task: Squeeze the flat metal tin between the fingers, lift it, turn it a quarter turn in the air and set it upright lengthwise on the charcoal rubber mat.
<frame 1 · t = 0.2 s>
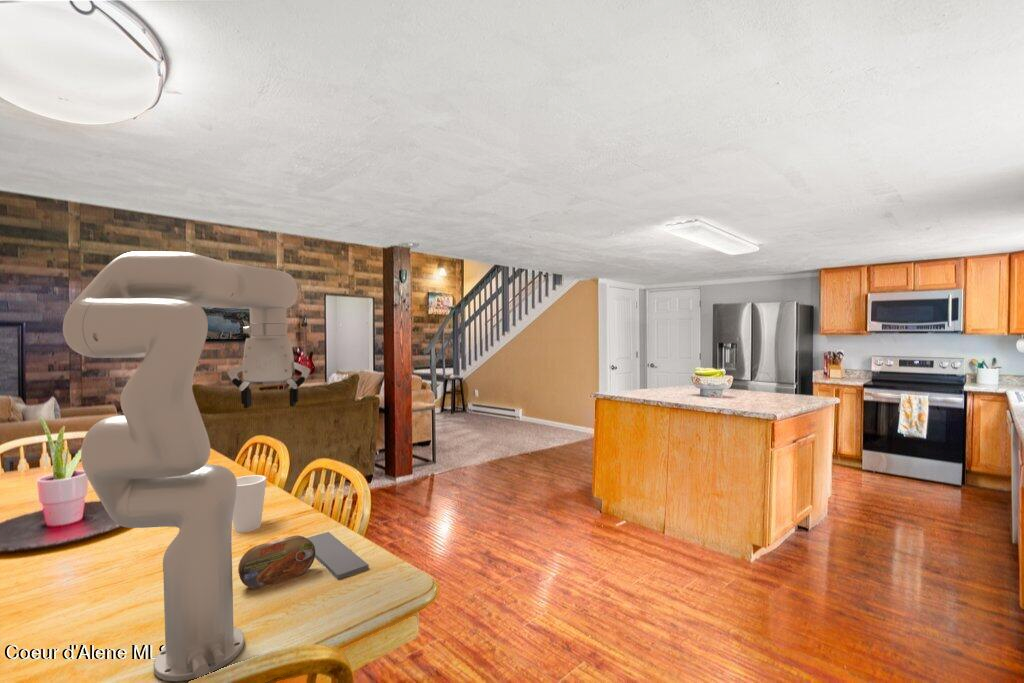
hand: (270, 406, 112), 36 cm above the table, tool pointing down, fingers open, 9 cm apart
tin: (278, 580, 106), on the table
foam cup: (247, 528, 133), on the table
charcoal mat: (332, 555, 117), on the table
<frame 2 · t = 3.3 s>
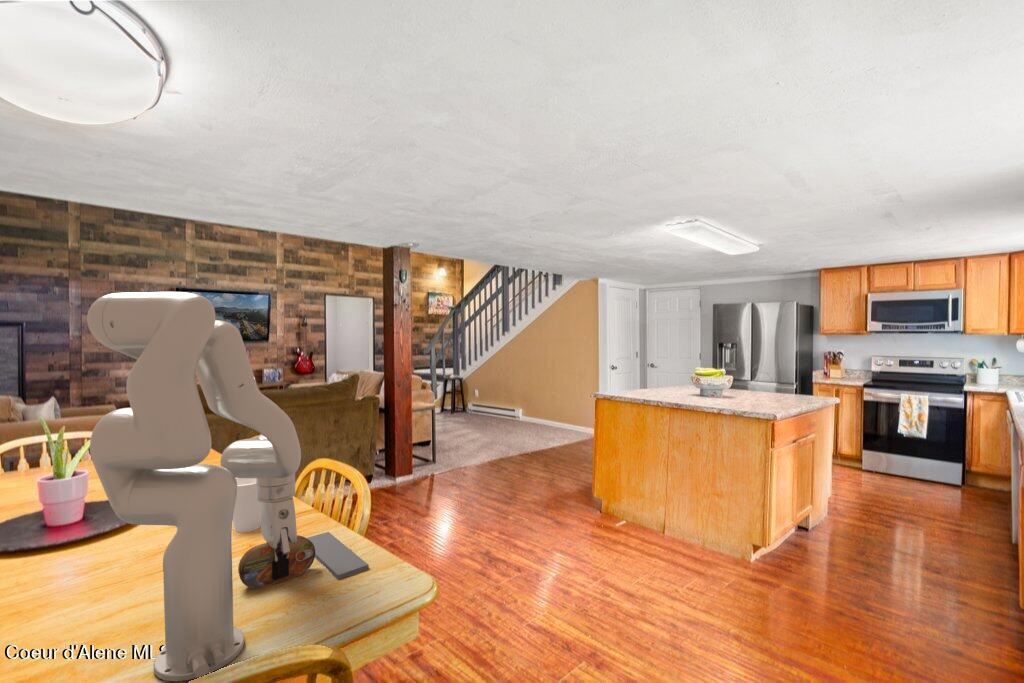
hand: (278, 573, 106), 1 cm above the table, tool pointing down, fingers open, 3 cm apart
tin: (278, 580, 106), on the table, touching gripper
everything else where it was.
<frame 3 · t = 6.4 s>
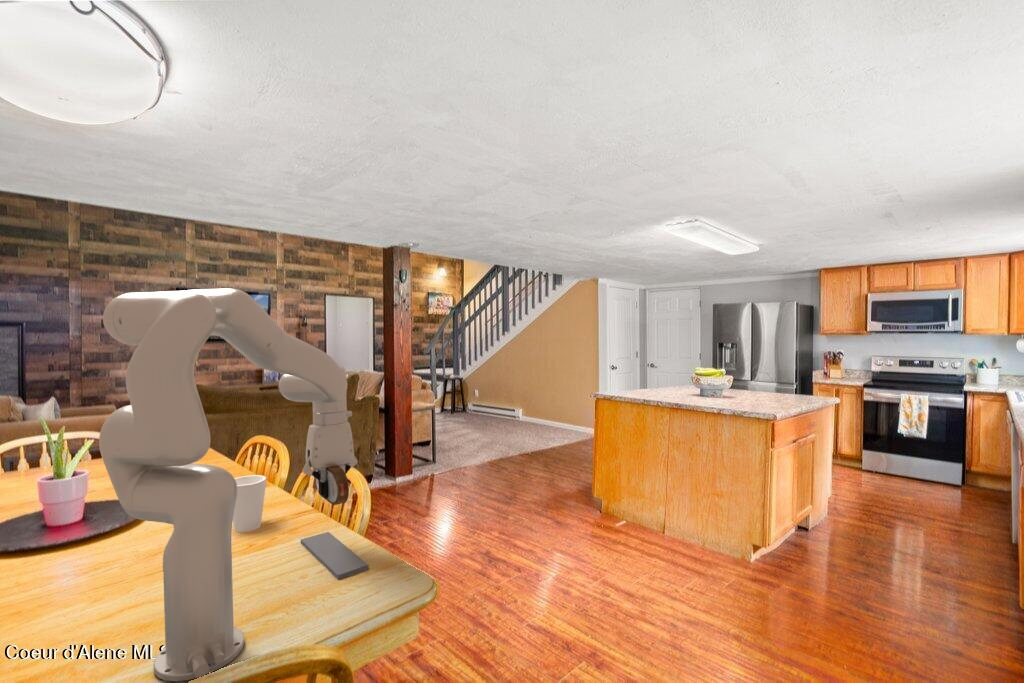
hand: (331, 494, 116), 15 cm above the table, tool pointing down, fingers closed on tin, 2 cm apart
tin: (330, 500, 116), point 13 cm above the table, touching gripper
everything else where it was.
when the fingers open (3 cm above the table, at t = 9.0 s): tin stays where it is, resting on charcoal mat.
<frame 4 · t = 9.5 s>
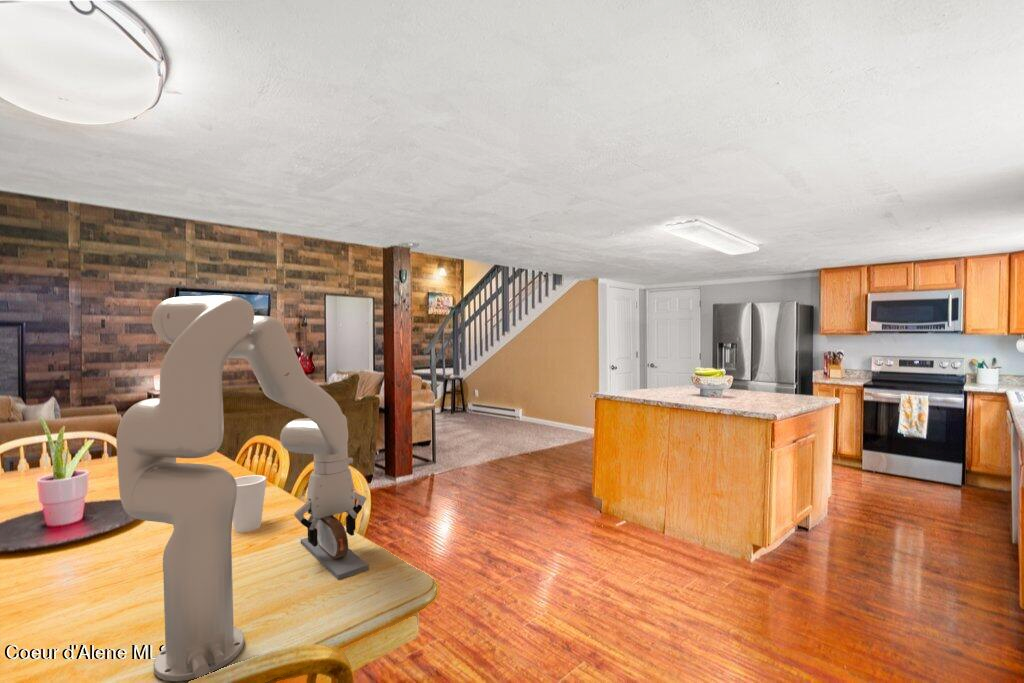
hand: (332, 538, 117), 4 cm above the table, tool pointing down, fingers open, 8 cm apart
tin: (330, 552, 116), point 1 cm above the table, touching charcoal mat
everything else where it was.
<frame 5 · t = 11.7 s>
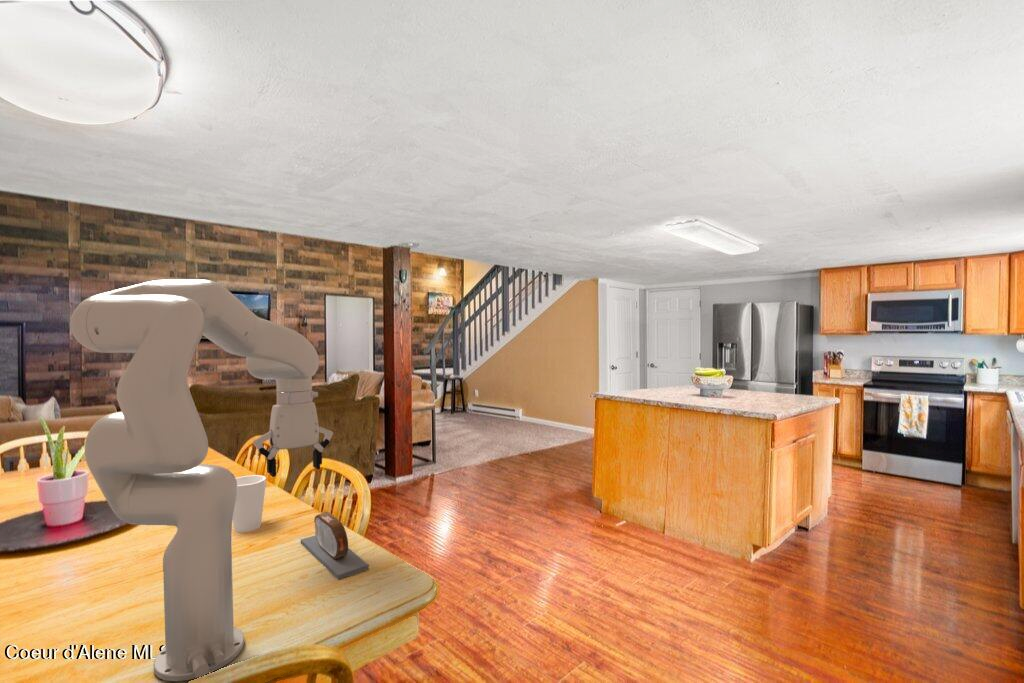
hand: (295, 471, 114), 21 cm above the table, tool pointing down, fingers open, 9 cm apart
nothing on the table moved.
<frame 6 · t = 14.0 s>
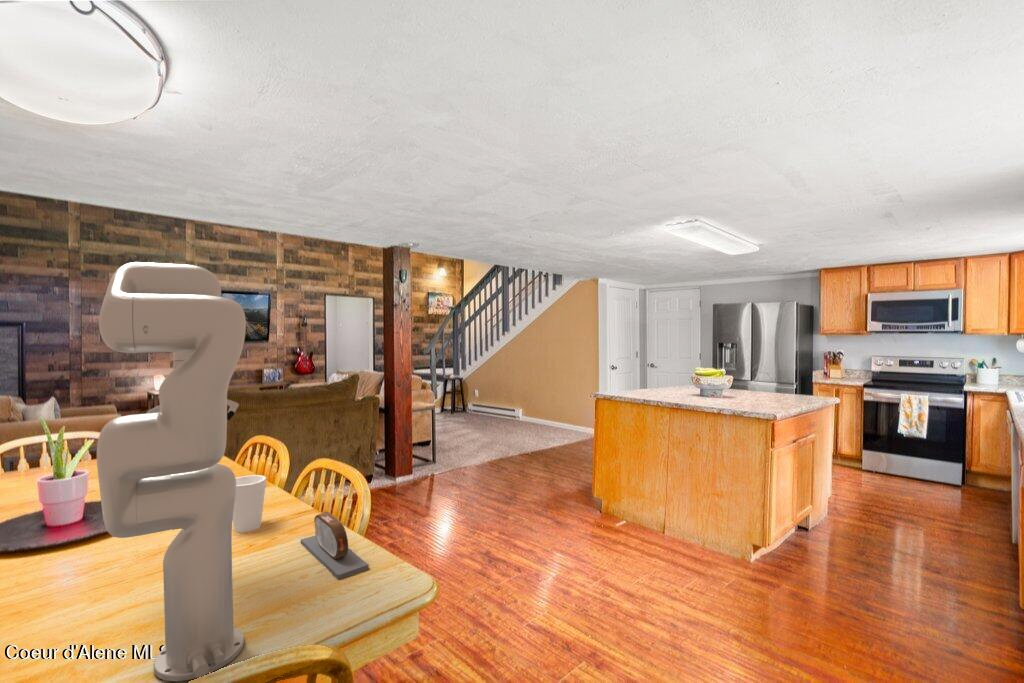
hand: (195, 444, 110), 28 cm above the table, tool pointing down, fingers open, 9 cm apart
nothing on the table moved.
at the end: tin inside the target area on the charcoal mat (0.5 cm from its centre), point 0.8 cm above the charcoal mat's base; tin tilted 0°; the gripper is holding nothing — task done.
